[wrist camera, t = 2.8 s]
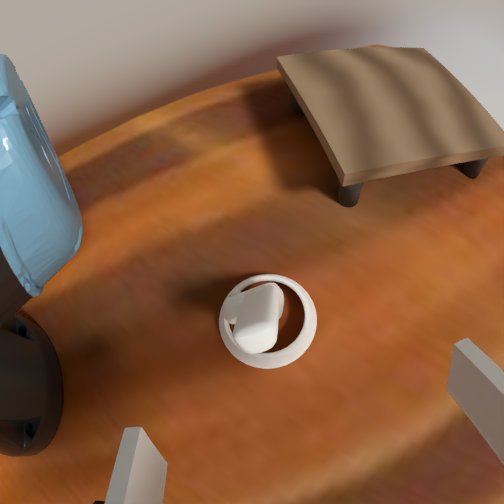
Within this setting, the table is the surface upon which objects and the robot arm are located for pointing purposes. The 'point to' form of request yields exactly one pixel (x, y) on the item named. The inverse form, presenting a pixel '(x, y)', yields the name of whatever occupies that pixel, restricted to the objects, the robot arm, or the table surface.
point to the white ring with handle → (263, 322)
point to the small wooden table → (388, 114)
